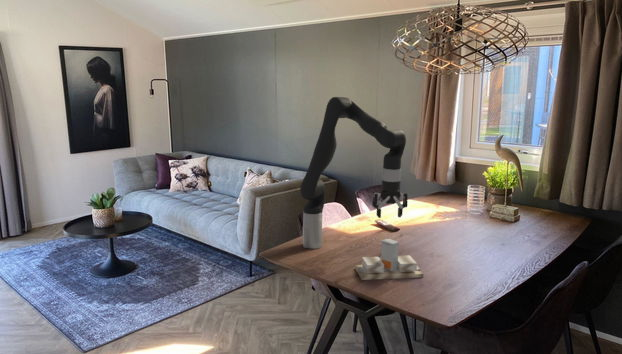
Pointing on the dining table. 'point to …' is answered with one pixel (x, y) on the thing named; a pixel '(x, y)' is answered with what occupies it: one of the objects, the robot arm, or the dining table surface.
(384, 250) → the skincare box
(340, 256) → the dining table surface
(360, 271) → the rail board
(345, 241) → the dining table surface
